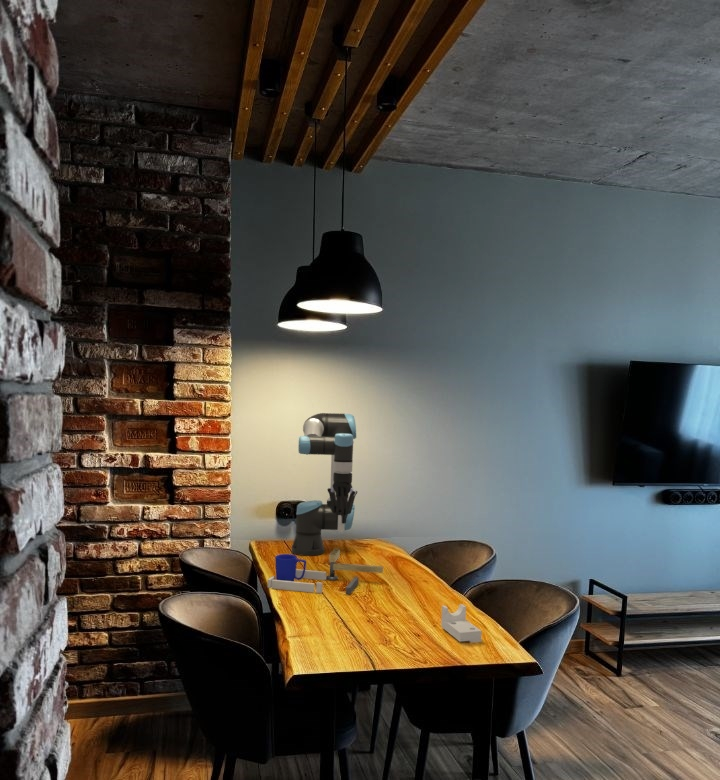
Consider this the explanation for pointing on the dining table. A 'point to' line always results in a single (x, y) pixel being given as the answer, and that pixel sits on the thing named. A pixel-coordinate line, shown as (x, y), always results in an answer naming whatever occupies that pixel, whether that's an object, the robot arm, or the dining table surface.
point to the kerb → (352, 585)
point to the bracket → (459, 625)
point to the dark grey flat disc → (332, 578)
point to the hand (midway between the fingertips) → (341, 531)
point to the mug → (287, 567)
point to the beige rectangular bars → (299, 585)
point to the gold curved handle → (349, 565)
